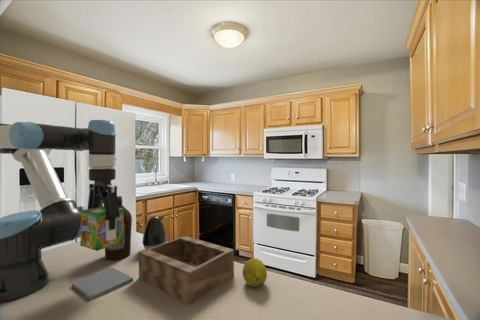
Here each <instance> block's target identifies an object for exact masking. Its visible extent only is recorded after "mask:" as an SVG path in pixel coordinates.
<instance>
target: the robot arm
mask: <svg viewBox="0 0 480 320" xmlns="http://www.w3.org/2000/svg"><path fill="white" fill-rule="evenodd" d="M116 135H117V133H116V124H115V122H114V121H111V120H105V119H90V120H89V122H88V126H87V127H86V128H85V127H83V128H79V127H73V126H61V125H52V124H44V123H43V124H42V123H36V122H31V121H16V122H14V123H13V124H7V123H0V154H3V155H4V154H9V155H10V154H11V155H12V157H13V159H14V160H15V161H17V162H18V163H21V165H22V167H23V170H24V172H25V175H26V176H27V179H28V181H29V183H30V186H31V188H32V190H33V193H34V196H36V197H35V198H36V200H37V202H38V204H39V207H40V208H41V209H39V210H37V209H36V210H27V211H21V212H20V211H19V212H14V213H11V214H8V215H5V216H1V217H0V303H3V302H8V301H9V302H10V301H13V300H17V299H20V298H22V297H26V296H28V295H31V294H33V293H35V292H37V291H39V290H41V289H42V288H44V287H45V286H46V285H47V284H48V282H49V272H48V270H47V268H46V266H45V263H44V261H43V259H42V250H43V249H47V248H49V247H53V246H56V245H60V244H64V243H68V242H71V241H75V240H76V239H80V238H81V211H82V210H87V209H93V208H99V205H100V202H101V200H103V206H104V208H105V212H106V216H107V218H105V234H106V241H108V240H112V239H116V229H115V219H116V218H117V217H120V213H119V206H118V198H117V196H118V186H117V185H112V181H113V180H115V179H117V178H116V176H117V175H116V173H117V172H116V170H117V169H115V168H114V167H116V161H117V158H116ZM52 150H61V151H62V150H63V151H74V152H75V151H76V152H83V151H88V168H90V169H89V170H88V180H89V181H90V182H91V181H92V182H93V183H89V186H88V188H89V193H88V194H89V195H88V202H87V207H86V206H82V205H80V206H78V205H77V203H76V201H75V200H74V199H72V198H69V197H68V195H67V193H66V191H65V189H64V187H63V184H62V182H61V181H60V178H59V176H58V173H57V172H56V170H55V167H54V166H53V164H52V161H51V160H50V157H49V155H50V154H51V151H52Z"/></svg>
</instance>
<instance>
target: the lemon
mask: <svg viewBox="0 0 480 320" xmlns="http://www.w3.org/2000/svg"><path fill="white" fill-rule="evenodd" d="M266 267H267V266H266V265H265V263H264V262H263V261H262V260H260V259H259V258H250V259H248V260H246V262H245V263H244V265H243V268H242V277H243V279H244V281H245V283H246V284H247V285H248V286H250V287H254V288H255V287H260V286H262V285H263V284H264V283H265V282H266V281H267V277H268V276H267V274H268V273H267V272H268V271H267V268H266Z"/></svg>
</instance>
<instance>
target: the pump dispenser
mask: <svg viewBox="0 0 480 320" xmlns="http://www.w3.org/2000/svg"><path fill="white" fill-rule="evenodd" d="M164 218H165V216H164V215H162V216H160V217H159V216H157V215H154V216H150V217H149V218H148V220H147V222H146V224H145V227H144V230H143V234H142V246H143V248H144V250H146V249H149V248H151V247H154V246H157V245H160V244H163V243H166V242H168V241H167V232H166V229H165V226H164V222H163V221H162V220H163V219H164Z"/></svg>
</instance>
